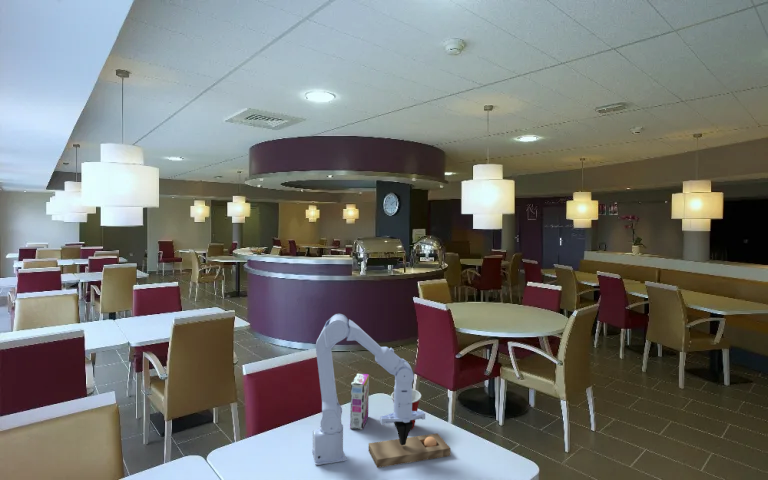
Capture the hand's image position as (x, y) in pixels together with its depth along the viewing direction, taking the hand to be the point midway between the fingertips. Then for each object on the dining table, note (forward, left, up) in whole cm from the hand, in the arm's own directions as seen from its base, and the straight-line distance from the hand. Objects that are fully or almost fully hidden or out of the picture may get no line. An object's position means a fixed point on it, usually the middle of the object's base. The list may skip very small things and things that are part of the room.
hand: (402, 443), depth 137 cm
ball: (+10, 0, -1) cm, 10 cm away
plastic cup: (+7, +17, -4) cm, 19 cm away
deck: (+2, 0, -3) cm, 4 cm away
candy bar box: (-8, +25, -4) cm, 26 cm away
